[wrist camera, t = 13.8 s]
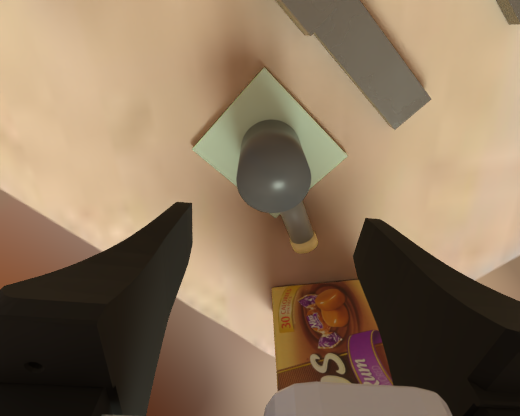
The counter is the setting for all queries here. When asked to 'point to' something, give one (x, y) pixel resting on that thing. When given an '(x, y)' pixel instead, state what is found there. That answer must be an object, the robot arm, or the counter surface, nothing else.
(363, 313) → the candy box
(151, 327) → the robot arm
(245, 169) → the grey tapered rounded piece
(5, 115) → the counter surface
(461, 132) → the counter surface
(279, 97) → the plate
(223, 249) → the counter surface
